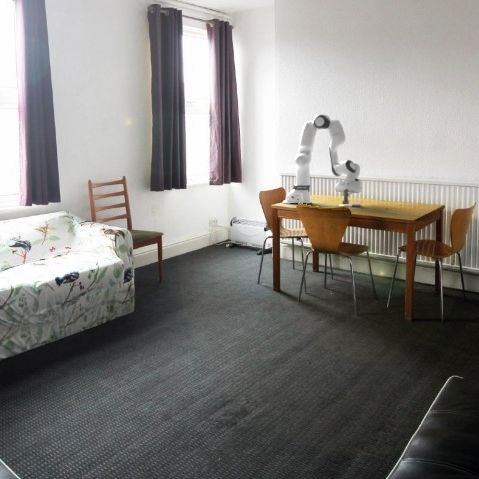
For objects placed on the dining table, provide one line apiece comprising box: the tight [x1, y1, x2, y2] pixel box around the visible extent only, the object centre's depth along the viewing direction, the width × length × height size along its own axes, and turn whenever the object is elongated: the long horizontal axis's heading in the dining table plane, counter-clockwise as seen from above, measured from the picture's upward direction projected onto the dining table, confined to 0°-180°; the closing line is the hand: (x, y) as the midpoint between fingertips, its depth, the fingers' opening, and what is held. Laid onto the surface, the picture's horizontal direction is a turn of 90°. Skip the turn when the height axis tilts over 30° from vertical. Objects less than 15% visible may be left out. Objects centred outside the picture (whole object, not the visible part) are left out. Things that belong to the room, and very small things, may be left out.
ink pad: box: [351, 203, 361, 208], centre depth 433 cm, size 6×8×1 cm
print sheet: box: [339, 203, 353, 208], centre depth 436 cm, size 9×9×1 cm
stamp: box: [341, 189, 350, 204], centre depth 434 cm, size 4×4×11 cm
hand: (345, 196), depth 434 cm, fingers closed on stamp, 3 cm apart
